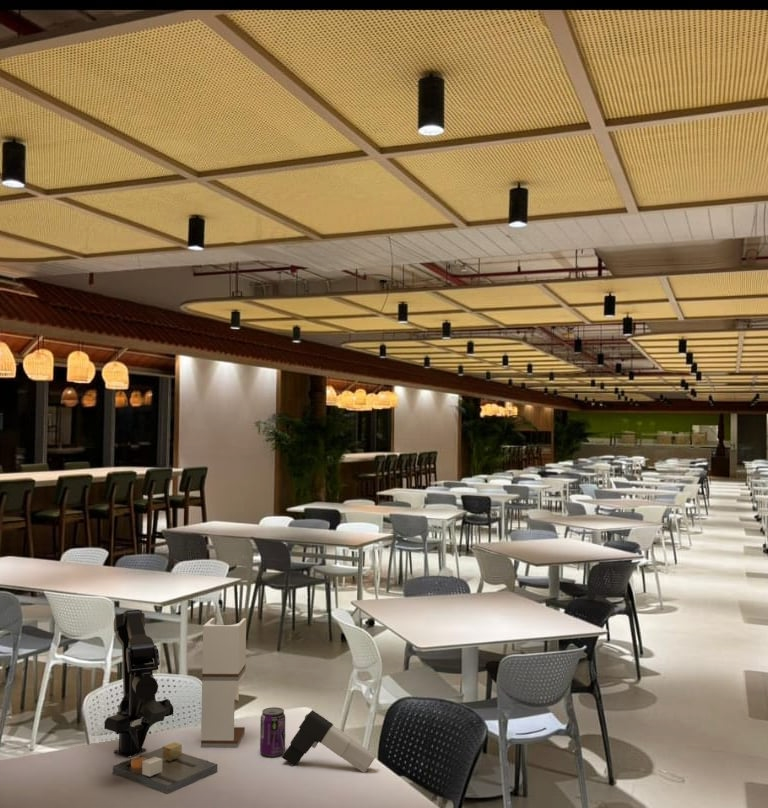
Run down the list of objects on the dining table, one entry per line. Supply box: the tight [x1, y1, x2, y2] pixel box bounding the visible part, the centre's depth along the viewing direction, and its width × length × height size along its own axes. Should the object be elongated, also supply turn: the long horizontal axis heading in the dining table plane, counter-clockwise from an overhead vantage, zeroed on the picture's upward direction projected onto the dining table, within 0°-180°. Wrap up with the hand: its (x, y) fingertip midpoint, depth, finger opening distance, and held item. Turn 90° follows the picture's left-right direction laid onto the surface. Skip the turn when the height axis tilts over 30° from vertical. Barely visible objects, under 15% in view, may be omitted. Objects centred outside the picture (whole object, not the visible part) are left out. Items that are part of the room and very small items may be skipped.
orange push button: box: [131, 756, 147, 770], centre depth 213 cm, size 4×4×3 cm
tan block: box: [162, 742, 183, 761], centre depth 217 cm, size 3×4×3 cm
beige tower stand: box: [200, 617, 247, 749], centre depth 238 cm, size 11×11×35 cm
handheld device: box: [281, 709, 376, 773], centre depth 217 cm, size 4×22×15 cm, turn 77°
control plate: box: [112, 746, 218, 794], centre depth 213 cm, size 22×17×2 cm
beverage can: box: [259, 706, 286, 757], centre depth 227 cm, size 7×7×12 cm
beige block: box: [142, 757, 162, 777], centre depth 207 cm, size 3×4×3 cm
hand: (139, 748), depth 213 cm, fingers closed
